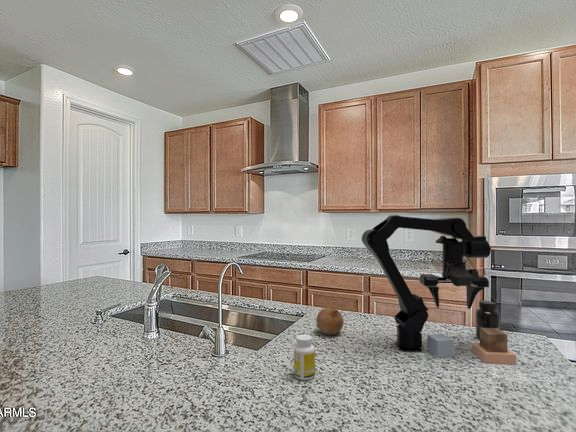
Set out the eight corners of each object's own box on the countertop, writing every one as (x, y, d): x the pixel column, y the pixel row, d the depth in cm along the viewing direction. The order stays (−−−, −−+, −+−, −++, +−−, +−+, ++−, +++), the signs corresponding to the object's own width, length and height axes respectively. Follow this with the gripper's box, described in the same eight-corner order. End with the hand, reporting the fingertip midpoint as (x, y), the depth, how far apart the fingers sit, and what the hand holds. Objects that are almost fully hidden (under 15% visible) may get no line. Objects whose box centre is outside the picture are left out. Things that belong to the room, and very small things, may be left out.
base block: (485, 364, 87) (485, 353, 87) (471, 352, 95) (471, 342, 95) (516, 366, 86) (516, 355, 86) (500, 353, 94) (500, 343, 94)
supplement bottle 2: (504, 343, 101) (503, 305, 101) (480, 341, 102) (480, 304, 103) (494, 335, 108) (494, 300, 108) (472, 334, 109) (472, 299, 109)
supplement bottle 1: (317, 372, 83) (317, 334, 83) (312, 382, 78) (311, 342, 78) (297, 369, 84) (297, 332, 85) (291, 378, 79) (290, 339, 79)
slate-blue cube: (437, 358, 91) (437, 340, 91) (427, 351, 96) (427, 334, 96) (453, 357, 91) (453, 339, 91) (442, 350, 96) (442, 333, 96)
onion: (339, 344, 108) (348, 322, 105) (312, 337, 109) (320, 314, 105) (338, 326, 117) (346, 304, 114) (313, 319, 117) (321, 297, 114)
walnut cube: (488, 351, 89) (487, 333, 89) (479, 344, 94) (479, 327, 94) (507, 352, 88) (507, 334, 88) (497, 345, 93) (497, 328, 93)
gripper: (429, 261, 92) (430, 314, 92) (498, 261, 90) (499, 317, 90) (418, 256, 103) (419, 304, 103) (479, 257, 101) (480, 306, 101)
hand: (453, 308), depth 99 cm, fingers open, 9 cm apart
